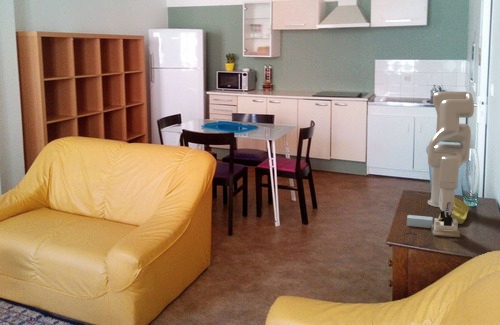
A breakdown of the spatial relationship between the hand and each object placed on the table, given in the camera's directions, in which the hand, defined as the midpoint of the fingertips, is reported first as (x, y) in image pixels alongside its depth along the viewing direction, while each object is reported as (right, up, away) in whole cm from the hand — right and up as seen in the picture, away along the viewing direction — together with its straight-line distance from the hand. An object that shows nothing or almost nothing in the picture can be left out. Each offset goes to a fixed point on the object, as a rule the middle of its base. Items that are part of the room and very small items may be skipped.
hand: (445, 221), depth 225 cm
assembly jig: (0, -5, +1) cm, 5 cm away
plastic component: (+12, -1, +20) cm, 23 cm away
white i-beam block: (0, -4, +1) cm, 4 cm away
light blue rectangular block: (-8, -3, +11) cm, 14 cm away
